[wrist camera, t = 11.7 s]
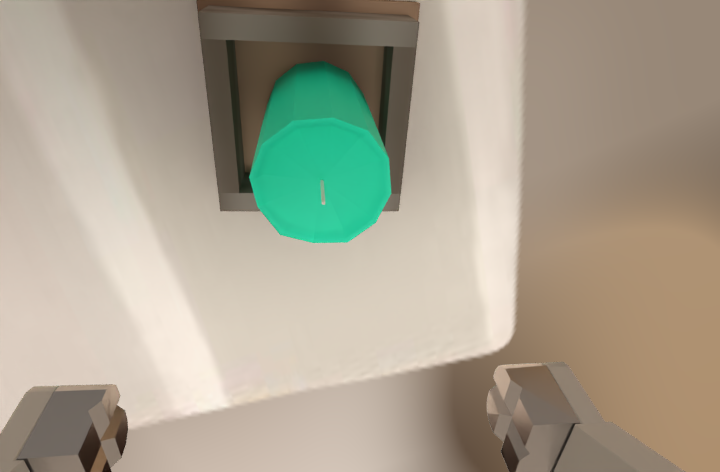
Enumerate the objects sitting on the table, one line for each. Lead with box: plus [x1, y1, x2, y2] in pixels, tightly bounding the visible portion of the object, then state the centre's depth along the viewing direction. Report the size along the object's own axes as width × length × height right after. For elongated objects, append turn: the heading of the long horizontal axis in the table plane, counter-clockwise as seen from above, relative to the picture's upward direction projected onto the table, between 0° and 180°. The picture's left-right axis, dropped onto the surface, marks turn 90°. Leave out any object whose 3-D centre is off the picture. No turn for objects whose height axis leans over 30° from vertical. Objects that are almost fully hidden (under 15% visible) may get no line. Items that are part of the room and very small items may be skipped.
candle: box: [249, 61, 391, 243], centre depth 23 cm, size 6×6×12 cm
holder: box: [197, 0, 420, 211], centre depth 27 cm, size 12×12×4 cm
